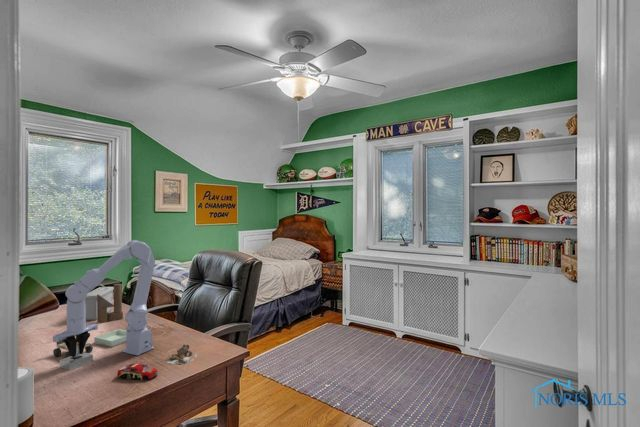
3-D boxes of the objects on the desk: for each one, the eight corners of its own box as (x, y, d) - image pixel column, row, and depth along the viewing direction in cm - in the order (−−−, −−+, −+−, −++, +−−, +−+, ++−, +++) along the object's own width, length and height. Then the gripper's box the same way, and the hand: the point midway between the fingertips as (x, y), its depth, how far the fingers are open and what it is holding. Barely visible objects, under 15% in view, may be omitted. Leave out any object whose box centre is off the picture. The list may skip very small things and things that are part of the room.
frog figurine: (173, 351, 139) (173, 342, 139) (202, 352, 138) (202, 343, 138) (158, 364, 128) (158, 354, 128) (189, 365, 127) (189, 355, 127)
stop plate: (92, 361, 129) (92, 354, 129) (69, 370, 122) (69, 363, 122) (82, 358, 132) (82, 351, 132) (59, 367, 125) (59, 360, 124)
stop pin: (81, 363, 127) (80, 341, 127) (75, 365, 126) (75, 342, 125) (77, 362, 128) (77, 340, 128) (72, 364, 126) (71, 342, 126)
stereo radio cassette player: (98, 310, 195) (98, 274, 194) (114, 309, 196) (114, 274, 196) (80, 322, 174) (79, 282, 174) (98, 321, 175) (97, 281, 175)
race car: (161, 374, 120) (161, 363, 120) (151, 382, 115) (151, 370, 115) (125, 372, 122) (125, 360, 121) (114, 379, 116) (114, 367, 116)
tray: (135, 338, 152) (135, 332, 152) (111, 347, 142) (111, 341, 142) (118, 334, 157) (118, 328, 157) (94, 343, 147) (94, 337, 147)
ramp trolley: (92, 351, 138) (92, 334, 138) (69, 360, 130) (69, 342, 130) (77, 347, 142) (77, 330, 142) (53, 355, 134) (53, 337, 134)
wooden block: (97, 321, 174) (97, 286, 174) (121, 317, 182) (120, 283, 181) (99, 323, 171) (98, 287, 171) (123, 318, 179) (122, 284, 179)
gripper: (89, 311, 135) (89, 345, 135) (47, 322, 122) (47, 360, 122) (101, 313, 132) (101, 348, 132) (59, 325, 119) (59, 364, 119)
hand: (76, 354), depth 127 cm, fingers closed on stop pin, 2 cm apart
